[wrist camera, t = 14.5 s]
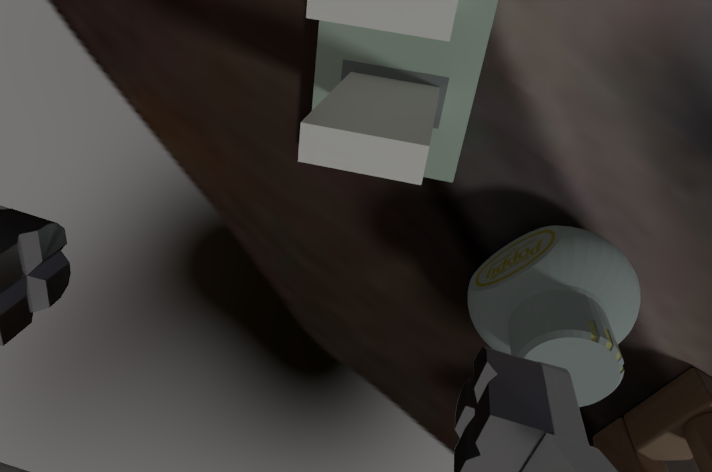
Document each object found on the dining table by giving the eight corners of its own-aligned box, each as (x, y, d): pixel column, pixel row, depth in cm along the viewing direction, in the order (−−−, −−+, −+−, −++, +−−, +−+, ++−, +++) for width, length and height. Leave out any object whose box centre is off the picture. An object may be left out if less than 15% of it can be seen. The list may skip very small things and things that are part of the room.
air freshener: (513, 344, 40) (527, 450, 31) (448, 274, 38) (444, 367, 29) (646, 276, 35) (706, 381, 26) (580, 192, 33) (621, 276, 24)
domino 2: (351, 71, 31) (300, 122, 21) (440, 87, 30) (429, 146, 21) (347, 100, 31) (297, 161, 22) (434, 115, 31) (421, 185, 22)
